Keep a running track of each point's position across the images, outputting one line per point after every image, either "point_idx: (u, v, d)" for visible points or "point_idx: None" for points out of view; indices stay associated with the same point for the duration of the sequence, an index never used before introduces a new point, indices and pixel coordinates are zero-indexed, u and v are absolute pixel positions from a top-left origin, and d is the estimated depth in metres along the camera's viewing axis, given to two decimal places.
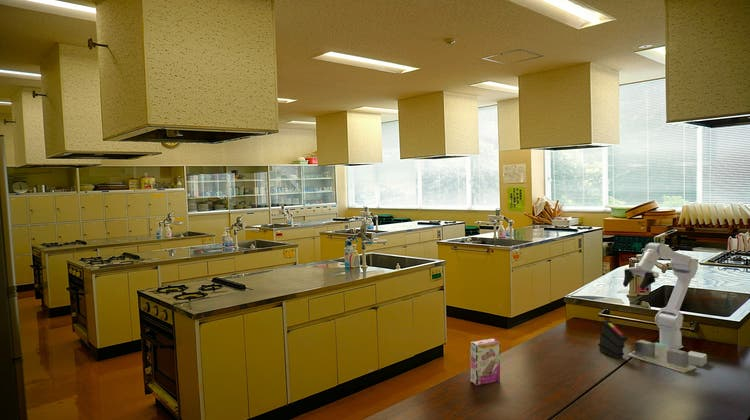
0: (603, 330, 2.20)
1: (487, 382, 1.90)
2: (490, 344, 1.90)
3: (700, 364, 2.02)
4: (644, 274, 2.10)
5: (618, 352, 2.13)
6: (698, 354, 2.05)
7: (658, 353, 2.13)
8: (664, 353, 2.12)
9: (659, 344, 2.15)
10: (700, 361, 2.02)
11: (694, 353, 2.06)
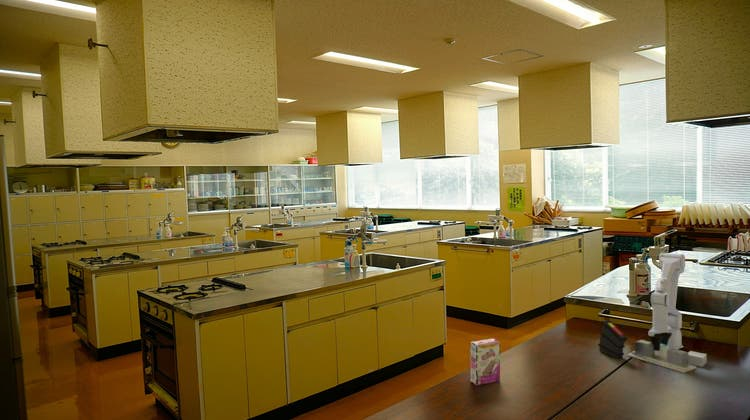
0: (603, 330, 2.20)
1: (487, 382, 1.90)
2: (490, 344, 1.90)
3: (700, 364, 2.02)
4: None
5: (618, 352, 2.13)
6: (698, 354, 2.05)
7: (658, 353, 2.13)
8: (664, 353, 2.12)
9: None
10: (700, 361, 2.02)
11: (694, 353, 2.06)
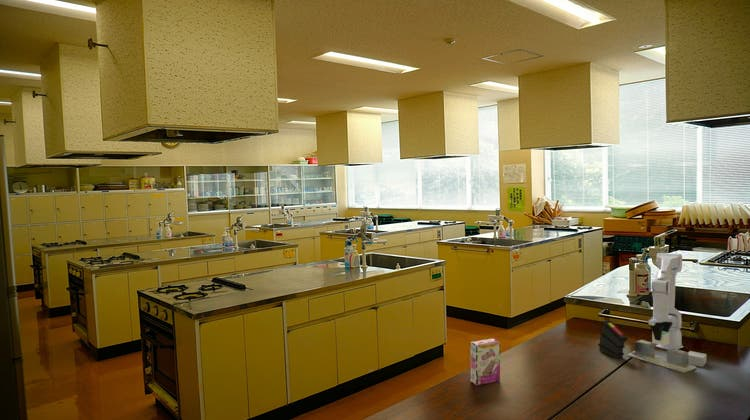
0: (603, 330, 2.20)
1: (487, 382, 1.90)
2: (490, 344, 1.90)
3: (701, 364, 2.02)
4: None
5: (618, 352, 2.13)
6: (698, 354, 2.05)
7: None
8: (665, 340, 2.05)
9: None
10: (701, 361, 2.02)
11: (694, 353, 2.06)
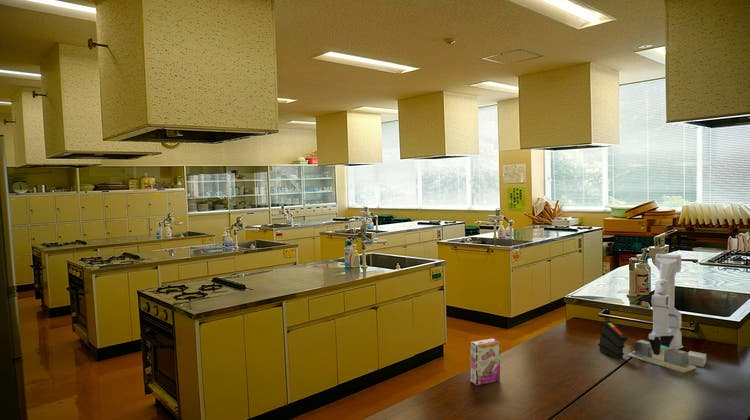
0: (603, 330, 2.20)
1: (487, 382, 1.90)
2: (490, 344, 1.90)
3: (701, 364, 2.02)
4: None
5: (618, 352, 2.13)
6: (698, 354, 2.05)
7: (659, 355, 2.07)
8: (665, 355, 2.05)
9: None
10: (701, 361, 2.02)
11: (694, 353, 2.06)
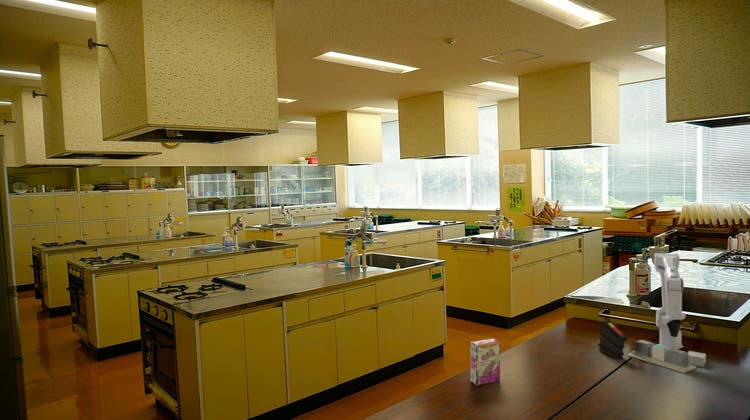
0: (603, 330, 2.20)
1: (487, 382, 1.90)
2: (490, 344, 1.90)
3: (701, 364, 2.02)
4: (677, 319, 2.09)
5: (618, 352, 2.13)
6: (698, 354, 2.05)
7: (659, 355, 2.07)
8: (665, 355, 2.05)
9: (660, 346, 2.08)
10: (701, 361, 2.02)
11: (694, 353, 2.06)
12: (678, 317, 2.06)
